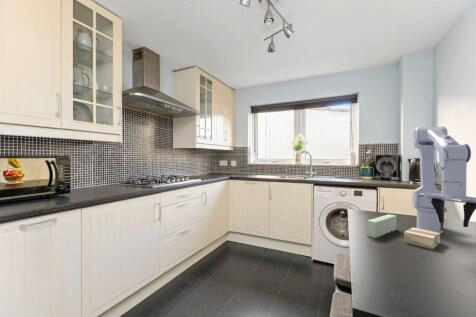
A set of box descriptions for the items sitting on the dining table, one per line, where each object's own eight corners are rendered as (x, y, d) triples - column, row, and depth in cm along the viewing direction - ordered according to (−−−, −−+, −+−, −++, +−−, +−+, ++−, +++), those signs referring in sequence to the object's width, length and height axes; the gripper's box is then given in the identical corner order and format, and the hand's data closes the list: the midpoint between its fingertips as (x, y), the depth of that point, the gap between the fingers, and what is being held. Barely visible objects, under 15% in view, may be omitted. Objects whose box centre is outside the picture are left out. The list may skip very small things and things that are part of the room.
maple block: (412, 237, 87) (413, 227, 87) (439, 244, 80) (440, 233, 80) (403, 242, 81) (404, 231, 81) (432, 250, 74) (432, 238, 74)
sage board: (388, 227, 98) (388, 214, 98) (396, 229, 96) (396, 215, 96) (366, 235, 87) (367, 220, 87) (375, 238, 84) (375, 222, 84)
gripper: (421, 180, 75) (420, 220, 75) (485, 184, 63) (484, 232, 63) (427, 179, 79) (427, 218, 79) (489, 183, 67) (488, 228, 67)
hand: (453, 224), depth 71 cm, fingers open, 5 cm apart
